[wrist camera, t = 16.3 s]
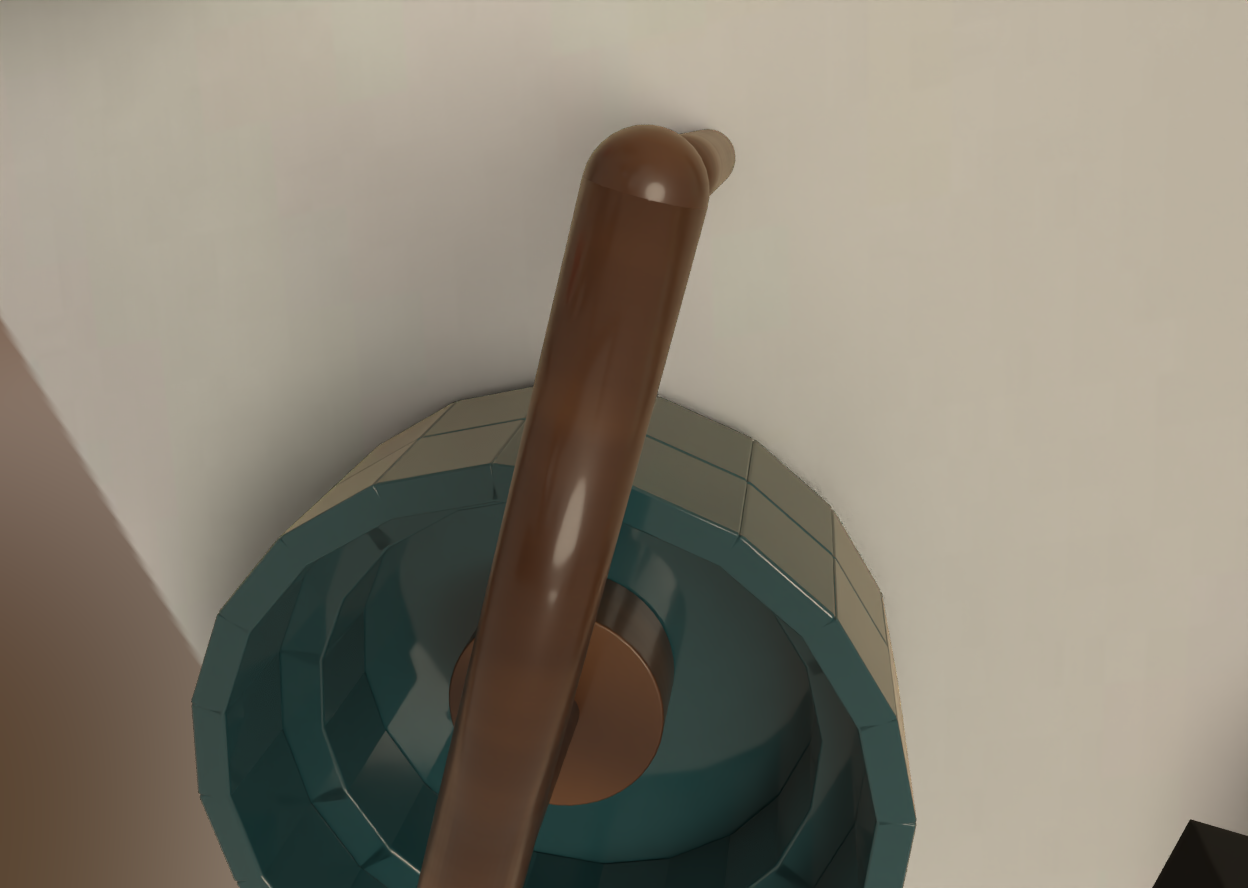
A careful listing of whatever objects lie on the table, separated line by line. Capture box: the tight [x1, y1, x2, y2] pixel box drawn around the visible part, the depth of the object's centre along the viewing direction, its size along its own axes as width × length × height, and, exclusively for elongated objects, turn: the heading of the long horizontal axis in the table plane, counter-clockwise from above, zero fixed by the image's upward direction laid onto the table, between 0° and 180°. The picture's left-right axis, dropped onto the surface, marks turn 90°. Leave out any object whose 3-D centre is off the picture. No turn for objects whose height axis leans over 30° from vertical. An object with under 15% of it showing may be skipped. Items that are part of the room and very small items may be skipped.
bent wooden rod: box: [417, 125, 735, 888], centre depth 21 cm, size 16×5×12 cm, turn 166°
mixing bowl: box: [191, 387, 917, 888], centre depth 26 cm, size 16×16×6 cm
